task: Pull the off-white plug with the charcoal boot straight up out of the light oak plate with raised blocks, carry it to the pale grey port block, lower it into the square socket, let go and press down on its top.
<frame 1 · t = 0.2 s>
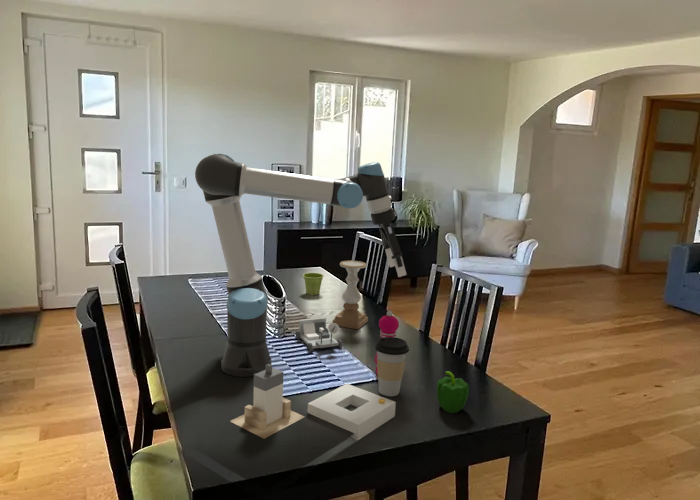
hand: (397, 270, 185), 28 cm above the table, tool tilted 20°, fingers open, 13 cm apart
coffee cup: (389, 392, 158), on the table
candle holder: (350, 323, 216), on the table
port block: (351, 417, 143), on the table
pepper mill: (385, 374, 171), on the table
plate with raised blocks: (267, 424, 137), on the table
bell pepper: (451, 409, 150), on the table
plug: (267, 418, 137), point 1 cm above the table, touching plate with raised blocks
grey mechanical device: (319, 345, 193), on the table
plant pot: (312, 294, 255), on the table
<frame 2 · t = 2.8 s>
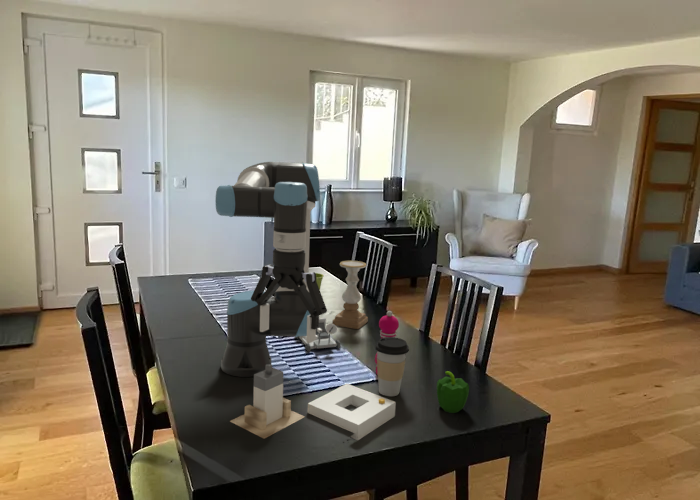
hand: (287, 336, 133), 23 cm above the table, tool pointing down, fingers open, 13 cm apart
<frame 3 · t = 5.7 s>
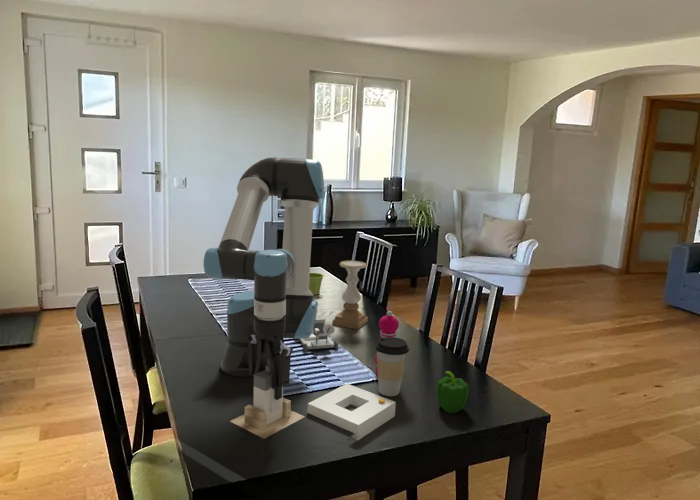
hand: (268, 407, 136), 5 cm above the table, tool pointing down, fingers closed on plug, 4 cm apart
plug: (267, 418, 137), point 2 cm above the table, touching gripper, plate with raised blocks
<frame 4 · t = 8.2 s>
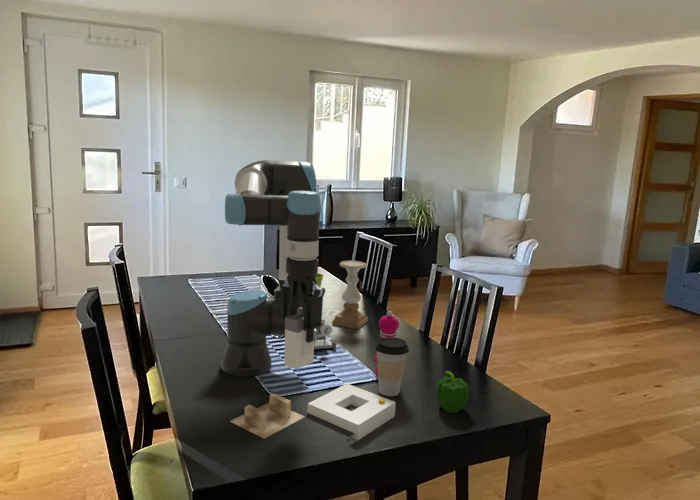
hand: (299, 351, 135), 19 cm above the table, tool pointing down, fingers closed on plug, 4 cm apart
plug: (298, 363, 136), point 16 cm above the table, touching gripper
when the fingers open (5 cm above the table, at t = 11.1 s): plug drops 1 cm, resting on port block.
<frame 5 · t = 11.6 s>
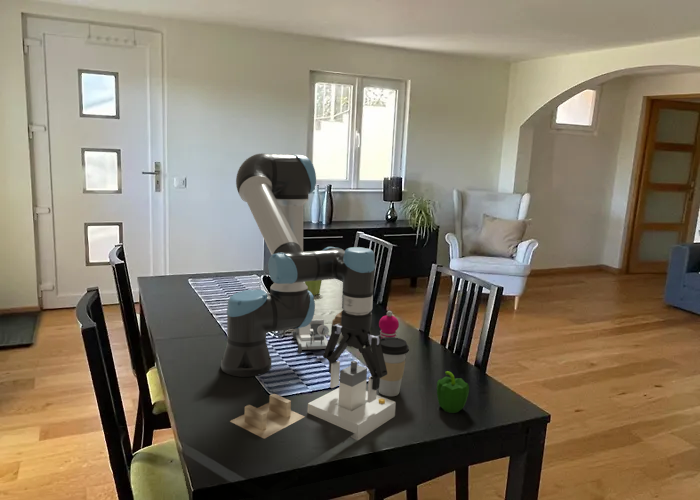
hand: (352, 393, 141), 7 cm above the table, tool pointing down, fingers open, 11 cm apart
plug: (351, 413, 142), point 1 cm above the table, touching port block
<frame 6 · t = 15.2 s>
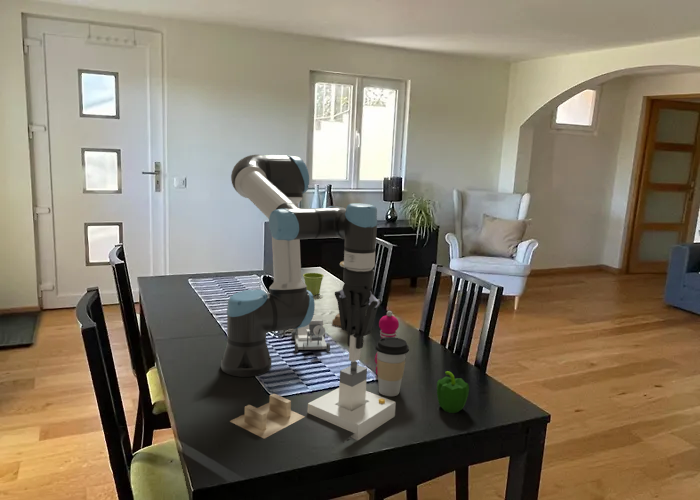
hand: (354, 359, 139), 16 cm above the table, tool pointing down, fingers closed
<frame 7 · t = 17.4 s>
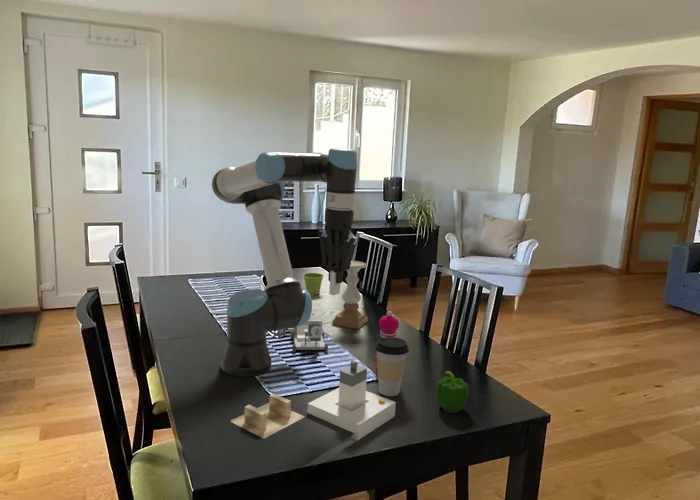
hand: (334, 293, 152), 28 cm above the table, tool pointing down, fingers closed
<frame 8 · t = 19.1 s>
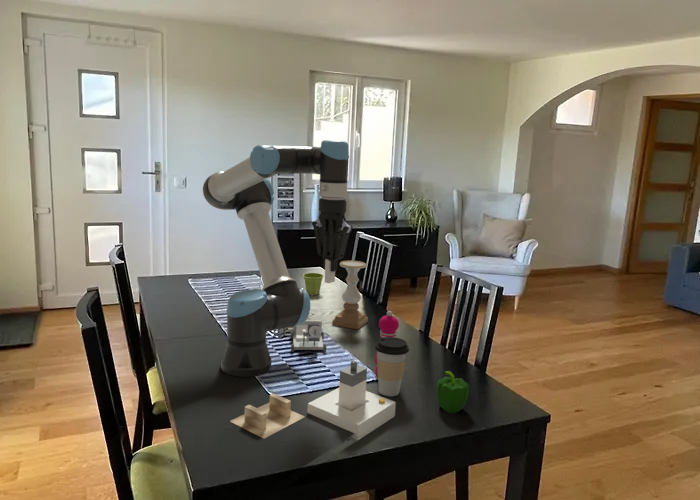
hand: (329, 281, 156), 30 cm above the table, tool pointing down, fingers closed
at the end: plug 0.1 cm off-centre on the port block, point 1.0 cm above the port block's base; plug tilted 0°; the gripper is holding nothing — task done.
